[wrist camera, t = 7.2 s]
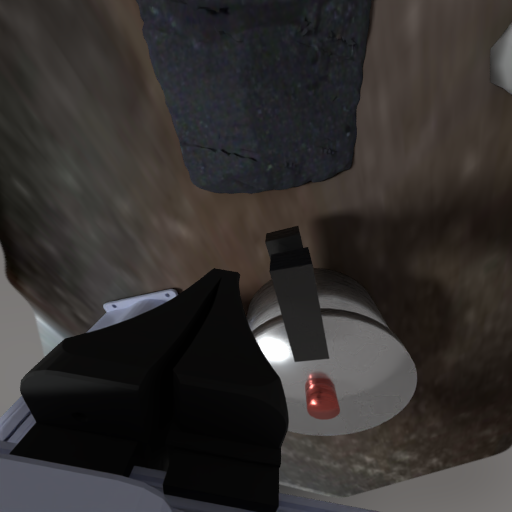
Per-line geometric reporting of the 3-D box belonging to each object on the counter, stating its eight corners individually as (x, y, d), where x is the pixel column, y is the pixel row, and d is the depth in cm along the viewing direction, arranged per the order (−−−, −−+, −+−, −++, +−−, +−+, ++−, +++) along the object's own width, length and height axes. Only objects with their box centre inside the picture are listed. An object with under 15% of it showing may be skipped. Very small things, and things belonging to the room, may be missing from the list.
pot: (380, 357, 27) (405, 411, 22) (265, 371, 30) (262, 421, 25) (364, 193, 19) (398, 214, 13) (209, 233, 22) (186, 264, 16)
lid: (407, 418, 22) (426, 460, 19) (258, 425, 24) (255, 462, 22) (414, 217, 13) (451, 238, 10) (185, 263, 16) (164, 290, 13)
